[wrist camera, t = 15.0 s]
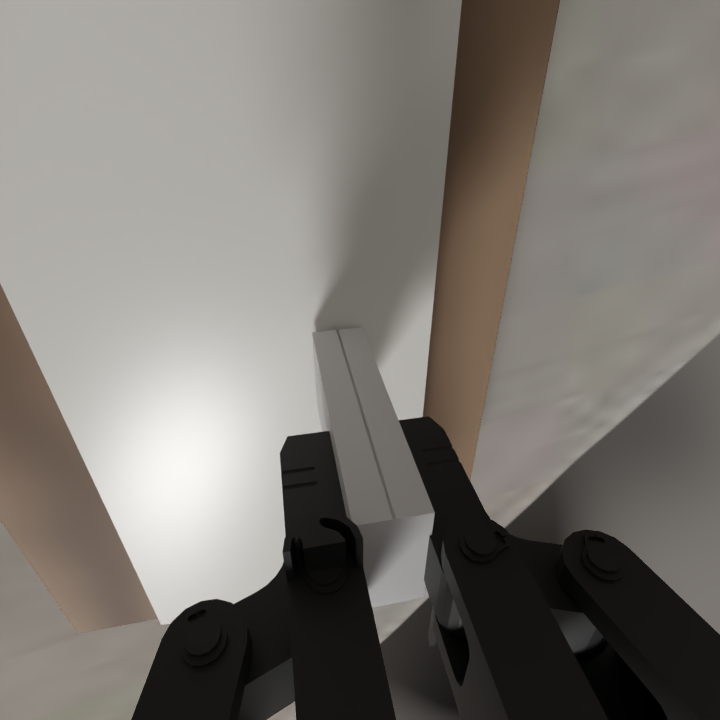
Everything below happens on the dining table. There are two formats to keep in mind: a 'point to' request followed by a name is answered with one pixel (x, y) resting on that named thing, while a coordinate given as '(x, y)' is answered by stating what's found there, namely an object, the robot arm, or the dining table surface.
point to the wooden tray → (447, 339)
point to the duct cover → (217, 244)
